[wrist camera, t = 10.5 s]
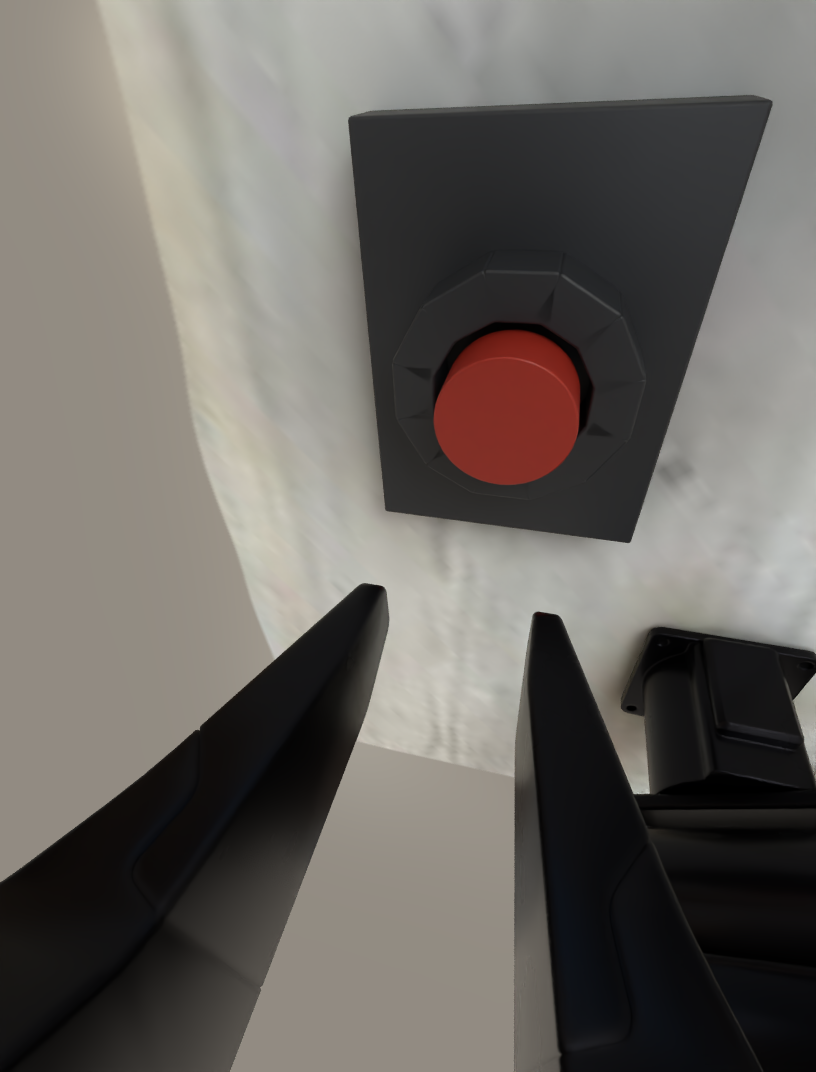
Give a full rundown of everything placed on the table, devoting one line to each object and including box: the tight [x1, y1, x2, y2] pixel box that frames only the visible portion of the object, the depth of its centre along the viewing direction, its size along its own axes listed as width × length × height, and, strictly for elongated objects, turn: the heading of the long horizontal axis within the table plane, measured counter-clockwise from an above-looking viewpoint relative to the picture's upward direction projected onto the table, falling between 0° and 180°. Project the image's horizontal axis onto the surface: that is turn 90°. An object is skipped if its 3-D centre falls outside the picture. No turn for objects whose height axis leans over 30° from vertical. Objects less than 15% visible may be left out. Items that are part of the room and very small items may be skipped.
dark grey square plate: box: [348, 95, 772, 543], centre depth 15 cm, size 12×9×4 cm
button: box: [433, 330, 580, 485], centre depth 14 cm, size 4×4×2 cm
